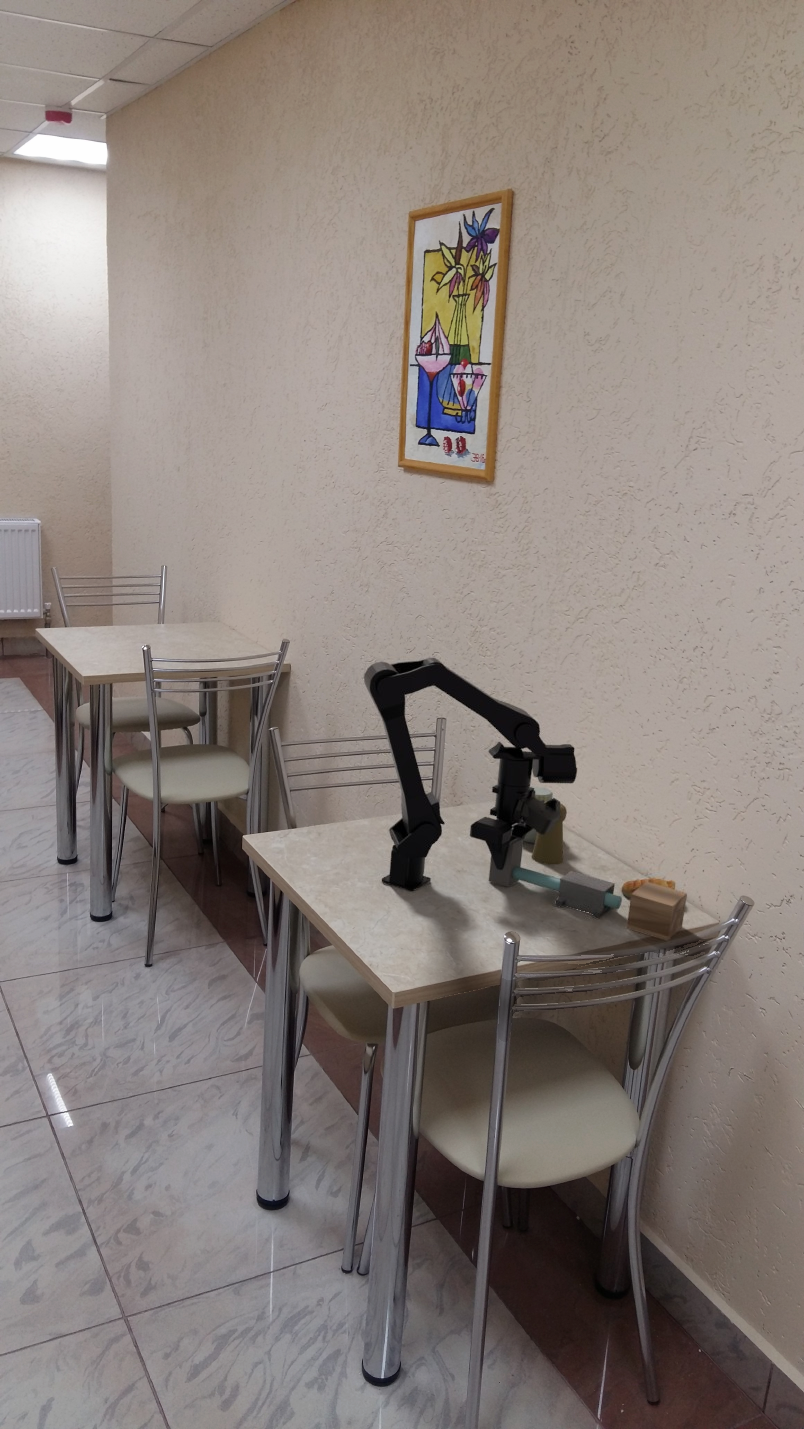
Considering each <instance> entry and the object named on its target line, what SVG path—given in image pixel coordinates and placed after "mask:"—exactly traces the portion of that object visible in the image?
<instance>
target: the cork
mask: <svg viewBox="0 0 804 1429" xmlns="http://www.w3.org/2000/svg"><path fill="white" fill-rule="evenodd" d="M544 803H546V802H544ZM560 812H561V814H560V815H561V819H559V820H557V822H556V824H555V826H554V828H553V830H550V831H549V832H547V833H546V834H544V835H543V834H540V833H537V837H536V841H535V843H534V845H533V850H532V853H531V859H532V860H533V861H535V862H536V863H539V864H542V865H553V866H554V865H559V864H562V863H564V828H563V826H564V825H563V824H564V823H563V822H564V821H565V820H566V818H567V813H568V812H567V807H566V806H565V805H564V804H563V803H562V802H560Z"/></svg>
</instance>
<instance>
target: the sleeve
mask: <svg viewBox="0 0 804 1429" xmlns="http://www.w3.org/2000/svg"><path fill="white" fill-rule="evenodd" d="M559 879H560V885H559V892H558V896H557V899H555V904H554V906H555V905H556V906H555V907H559V906H560V907H559V908H563V907H566V906H568V907H567V908H569V907H571V908H570V909H573V908H574V909H573V910H576V909H578V910H577V911H579V910H581V911H580V912H582V911H585V912H584V913H586V912H589V913H591V914H590V915H592V914H593V915H592V916H594V917H595V918H594V917H593V918H594V919H597V920H600V918H602V917H603V916H604V915H605V914H607V913H608V912H610V911H611V910H612V909H613V908H611V907H608V906H605V905H604V901H605V894H606V893H610V894H614V892H615V884H616V883H615V882H611V881H608V880H604V879H600V878H597V877H594V876H590V875H587V874H584V873H579V872H575V871H573V870H571V871H569V872H568V873H566V874H565V875H563V876H562V877H560V878H559ZM562 906H563V907H562ZM589 913H588V914H589Z"/></svg>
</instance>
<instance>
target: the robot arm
mask: <svg viewBox="0 0 804 1429" xmlns="http://www.w3.org/2000/svg"><path fill="white" fill-rule="evenodd" d="M363 679H364V684H365V687H366V690H367V692H368V694H369V695H370V698H371V700H372V702H373V704H374V706H375V707H376V709H377V712H378V713H379V716H380V718H381V721H382V725H383V728H384V732H385V735H386V739H387V740H386V741H387V743H388V747H389V750H390V755H391V758H392V761H393V766H394V769H395V773H396V776H397V779H398V783H399V787H400V791H401V792H400V793H401V803H400V808H401V818H400V819H399V820H398V821H397V822H395V823H394V824H393V825H392V826H391V827H390V828H389V829H388V831H389V835H390V838H391V841H392V842H393V845H392V847H391V848H392V849H391V852H390V853H391V854H390V864H389V874H388V875H386V876H384V877H382V878H381V882H382V883H385V884H386V885H391V886H394V887H397V888H399V889H403V890H406V891H410V892H413V891H416V890H417V889H420V888H421V887H423V886H424V885H426V884H428V883H430V882H431V881H432V878H431V877H429V876H425V875H424V874H425V864H426V862H425V861H426V858H427V857H428V855H429V852H430V850H431V848H432V845H435V844H436V842H438V841H439V840H440V838H441V836H442V834H443V829H442V825H443V826H444V825H445V823H446V822H445V821H444V819H443V818H442V816H441V810H440V802H439V801H438V799H437V797H436V796H435V794H434V793H433V791H430V792H428V793H426V791H425V788H424V783H423V781H422V777H421V773H420V772H421V771H420V767H419V765H418V760H417V758H416V754H415V749H414V746H413V743H412V739H411V734H410V731H409V728H408V724H407V719H406V696H407V695H410V694H414V693H417V692H419V691H421V690H424V689H426V688H430V687H436V688H438V690H440V691H442V693H443V692H444V693H445V694H446V695H448V696H450V697H451V698H452V699H454V700H456V701H457V702H459V703H460V704H461V705H464V706H465V707H466V708H468V709H469V710H471V711H472V712H473V713H475V714H477V715H479V716H480V717H482V718H483V719H485V721H487V722H488V723H489V724H490V725H491V726H492V727H493V728H494V729H496V731H497V732H499V734H500V735H502V736H503V737H504V739H506V740H507V741H508V742H509V743H510V744H511V745H512V746H505V745H504V744H502V742H501V741H498V742H497V743H496V744H495V745H493V747H491V748H489V749H488V751H487V752H488V753H489V755H490V756H491V757H492V758H493V759H497V760H499V762H498V774H497V783H496V785H493V786H492V787H491V788H492V789H491V793H493V794H495V802H494V803H495V804H494V807H492V808H490V809H489V815H490V816H494V817H496V819H495V818H491V817H488V816H484V817H482V818H480V819H478V820H476V821H474V822H473V823H471V825H470V829H469V830H470V831H469V837H471V838H474V839H477V840H480V841H484V842H485V844H486V846H487V848H488V850H489V853H490V857H491V856H492V858H493V861H494V863H495V866H496V868H497V869H499V870H502V869H503V867H504V864H505V860H506V856H507V851H508V847H509V844H510V843H511V842H512V841H514V840H515V839H517V837H521V838H525V836H526V834H527V833H528V832H530V831H531V830H533V829H535V830H536V832H538V833H540V834H543V835H544V834H546V833H547V832H549V831H550V830H553V828H554V826H555V824H556V822H557V820H559V819H561V815H560V814H561V812H560V803H561V801H560V800H558V799H557V798H555V797H552V799H551V800H549V801H548V802H546V803H544V800H542V801H539V800H538V799H536V798H535V790H534V788H532V786H531V783H532V775H533V777H534V778H537V780H538V782H539V783H540V784H573V783H574V782H575V781H576V778H577V773H578V768H577V761H576V760H577V759H576V756H575V747H574V746H573V745H572V744H571V743H570V744H568V743H564V744H546V743H545V742H544V741H543V739H542V738H541V736H540V735H541V734H540V733H541V728H540V724H539V722H538V721H537V720H536V719H535V718H534V717H533V716H531V715H530V714H529V713H528V712H527V711H526V710H525V709H522V708H520V707H518V706H517V705H513V704H510V703H508V702H506V701H502V700H500V699H497V698H495V697H493V696H491V695H490V694H488V693H487V692H485V691H483V689H481V688H480V687H477V686H476V685H474V684H473V683H471V681H468V680H467V679H466V678H464V677H463V676H462V675H459V673H456V672H455V671H453V670H452V669H450V668H449V667H447V665H444V664H443V662H442V661H440V660H439V659H438V658H435V657H427V658H424V659H419V660H411V661H400V662H395V663H388V662H385V661H378V662H377V661H376V662H374V663H373V664H370V666H368V668H367V669H366V671H365V673H364V674H363ZM523 749H528V750H529V751H524V750H523ZM512 835H514V836H512ZM515 836H517V837H515ZM523 840H524V839H523Z"/></svg>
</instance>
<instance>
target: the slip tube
mask: <svg viewBox="0 0 804 1429" xmlns="http://www.w3.org/2000/svg"><path fill="white" fill-rule="evenodd" d="M512 836H514V835H512ZM515 837H517V836H515ZM523 839H524V838H521V837H517V839H515V840H514V841H512V842H511V843H510V844H509V847H508V851H507V856H506V860H505V864H504V867H503V869H502V870H499V869H497V868H496V866H495V863H494V861H493V858H492V856H491V855H490V862H489V863H490V865H489V873H488V882H491V883H494V884H496V885H502V886H504V887H507V888H510V887H511V886H513V885H515V884H516V883H517V882H519V881H521V882H525V883H529V884H532V885H535V886H539V887H542V888H545V889H549V890H551V891H555V892H558V893H559V885H560V879H561V878H558V877H555V876H551V875H548V874H547V873H546V874H545V873H542V872H539V871H535V870H531V869H528V868H525V867H521V865H522V858H523V857H522V856H523V846H524V841H523ZM622 901H623V898H622V896H620V895H616V894H614V893H613V894H610V893H606V894H605V901H604V905H605V906H608V907H611V908H612V909H615V910H619V909H620V907H621V905H622Z"/></svg>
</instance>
